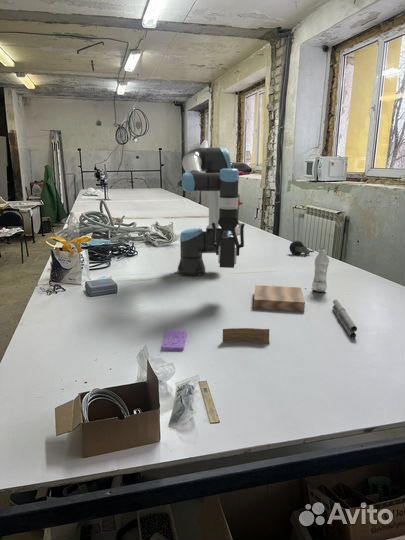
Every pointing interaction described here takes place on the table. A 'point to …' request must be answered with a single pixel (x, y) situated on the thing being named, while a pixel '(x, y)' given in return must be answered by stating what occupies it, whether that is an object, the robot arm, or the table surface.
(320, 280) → the plastic bottle
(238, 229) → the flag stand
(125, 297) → the table surface
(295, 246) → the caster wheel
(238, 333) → the wood plank
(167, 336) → the sponges
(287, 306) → the wooden board
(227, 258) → the phone stand
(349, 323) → the metal rod assembly
